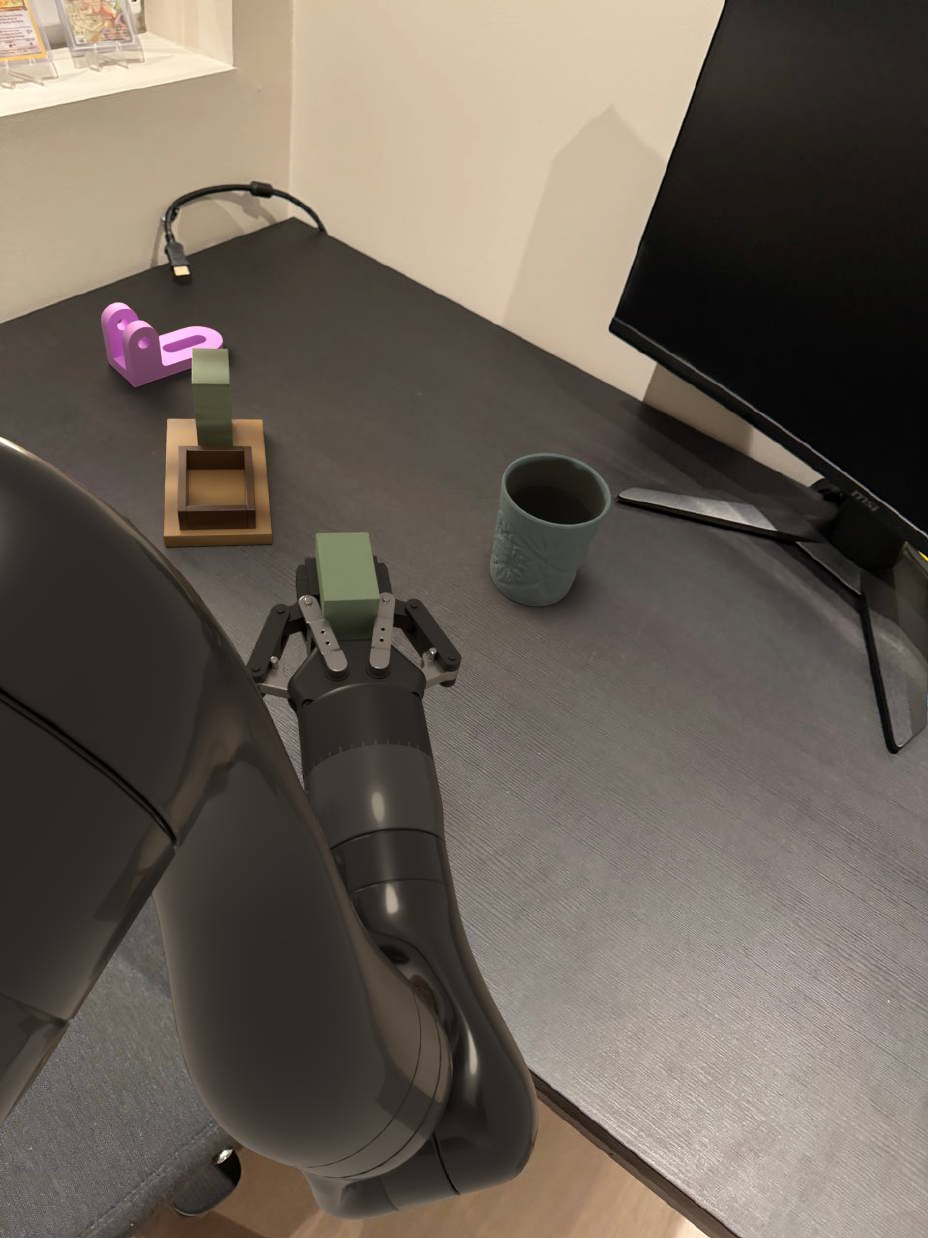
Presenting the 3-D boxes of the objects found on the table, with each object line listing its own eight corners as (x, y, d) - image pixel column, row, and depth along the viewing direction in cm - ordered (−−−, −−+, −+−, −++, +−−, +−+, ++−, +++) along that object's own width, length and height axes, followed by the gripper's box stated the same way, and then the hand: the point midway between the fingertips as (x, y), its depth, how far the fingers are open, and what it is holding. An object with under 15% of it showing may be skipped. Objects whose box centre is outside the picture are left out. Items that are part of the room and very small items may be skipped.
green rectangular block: (369, 682, 60) (380, 598, 53) (319, 686, 59) (324, 600, 52) (359, 618, 63) (368, 531, 57) (312, 620, 62) (315, 532, 56)
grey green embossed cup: (586, 561, 89) (620, 472, 80) (565, 627, 82) (599, 539, 73) (495, 530, 90) (519, 439, 81) (467, 594, 83) (489, 502, 74)
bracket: (134, 387, 95) (126, 332, 90) (108, 362, 97) (98, 307, 92) (232, 354, 102) (229, 301, 97) (205, 331, 104) (201, 278, 99)
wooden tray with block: (272, 544, 83) (271, 460, 75) (165, 547, 81) (152, 461, 73) (262, 430, 94) (260, 346, 86) (168, 429, 92) (157, 343, 84)
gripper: (503, 738, 47) (446, 523, 57) (239, 760, 43) (231, 526, 54) (479, 803, 52) (432, 596, 63) (244, 828, 49) (236, 604, 59)
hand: (339, 565), depth 58 cm, fingers closed on green rectangular block, 3 cm apart
